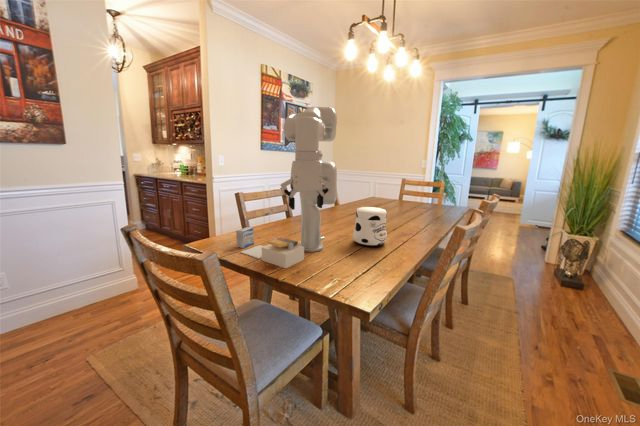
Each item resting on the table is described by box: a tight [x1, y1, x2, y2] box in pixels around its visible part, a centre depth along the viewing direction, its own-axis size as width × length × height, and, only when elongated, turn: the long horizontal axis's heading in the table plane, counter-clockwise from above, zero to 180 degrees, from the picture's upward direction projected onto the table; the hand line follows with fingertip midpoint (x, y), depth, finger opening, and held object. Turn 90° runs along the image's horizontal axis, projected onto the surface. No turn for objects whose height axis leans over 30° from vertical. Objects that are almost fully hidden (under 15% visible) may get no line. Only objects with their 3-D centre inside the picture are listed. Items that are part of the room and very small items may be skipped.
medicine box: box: [235, 226, 255, 249], centre depth 139 cm, size 8×4×9 cm, turn 154°
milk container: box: [352, 206, 388, 247], centre depth 146 cm, size 17×17×18 cm
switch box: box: [261, 238, 305, 269], centre depth 123 cm, size 12×14×9 cm
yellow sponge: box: [266, 238, 299, 247], centre depth 122 cm, size 12×7×2 cm, turn 145°
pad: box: [240, 244, 264, 260], centre depth 132 cm, size 12×12×1 cm
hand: (306, 208), depth 95 cm, fingers open, 9 cm apart
